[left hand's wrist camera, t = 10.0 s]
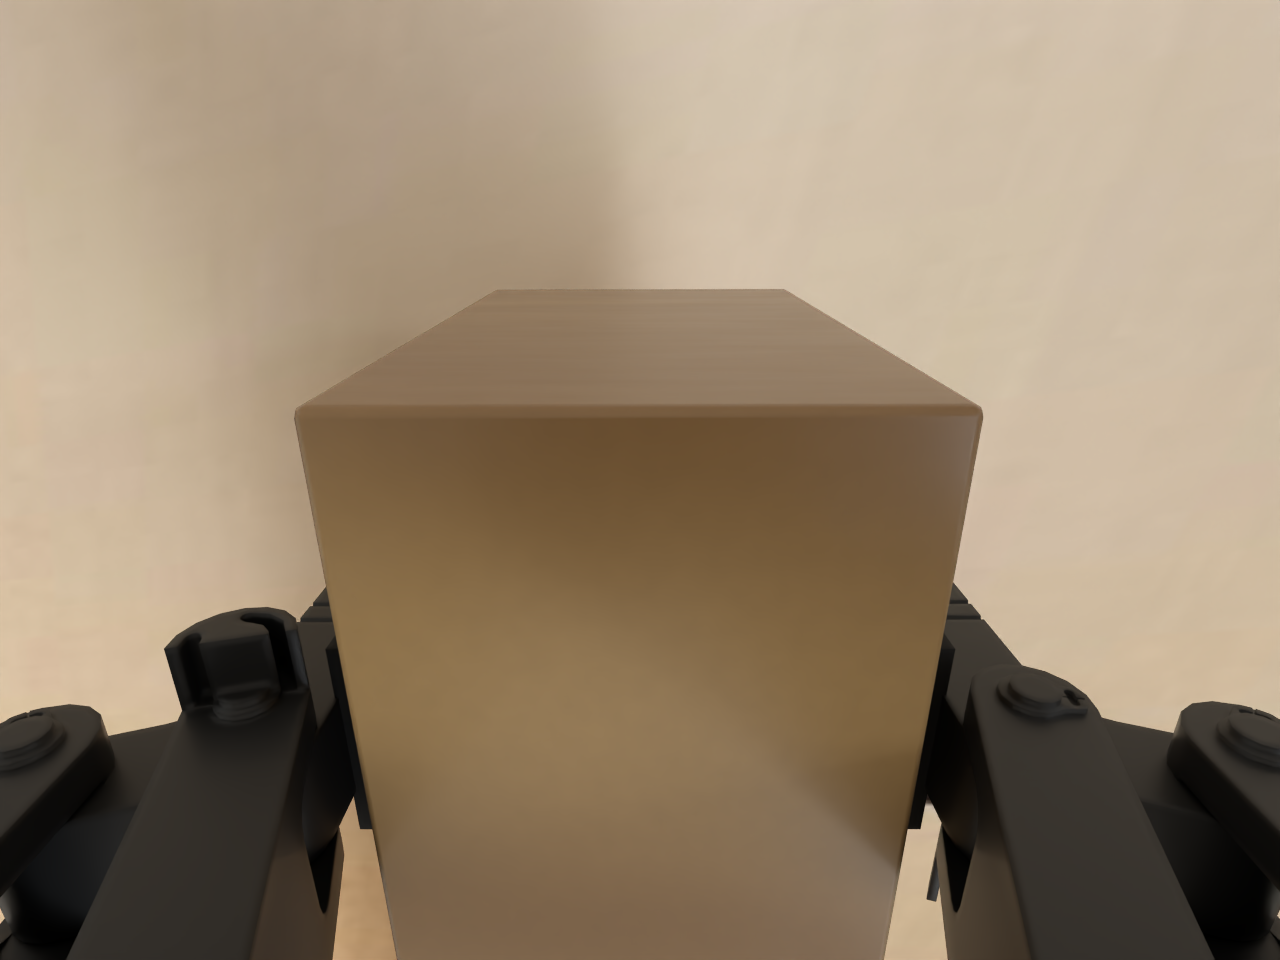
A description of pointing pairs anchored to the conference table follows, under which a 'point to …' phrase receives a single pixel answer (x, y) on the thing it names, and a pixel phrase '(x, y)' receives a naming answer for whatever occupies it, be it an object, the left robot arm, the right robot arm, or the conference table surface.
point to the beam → (639, 621)
